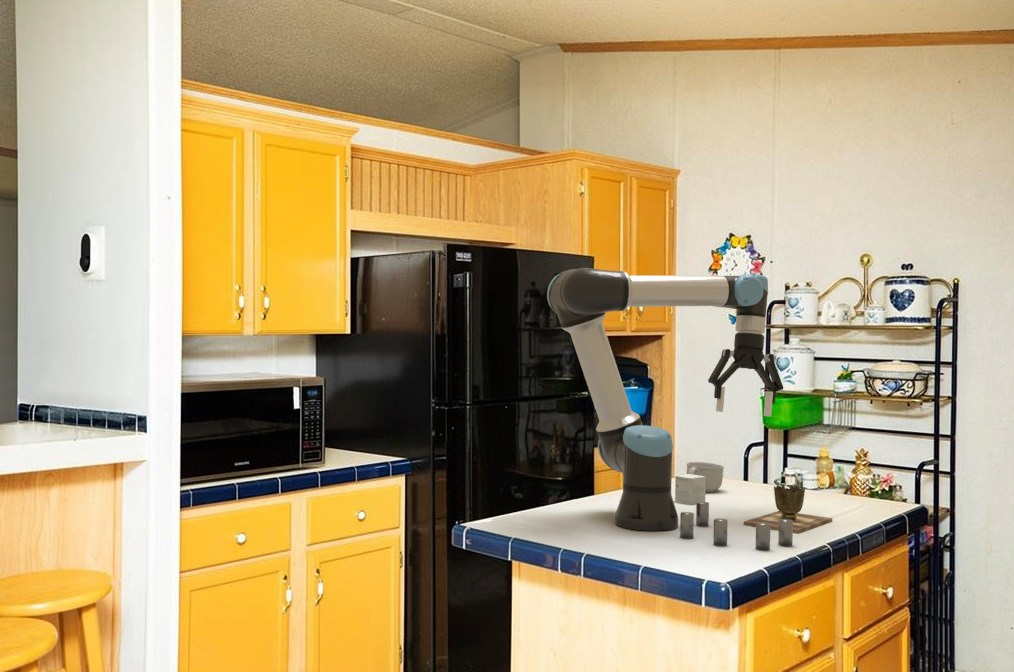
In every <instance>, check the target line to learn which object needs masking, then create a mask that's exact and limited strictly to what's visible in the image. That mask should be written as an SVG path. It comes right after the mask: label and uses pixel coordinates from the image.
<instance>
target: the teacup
mask: <svg viewBox="0 0 1014 672" xmlns="http://www.w3.org/2000/svg"><path fill="white" fill-rule="evenodd" d="M724 468H725V466H724V465H722V464H718V463H715V462H714V463H713V462H707V461H706V462H705V461H688V462H686V473H685V474H693V475H699V476H704V477H706V491H705V493H715V492H716V491H717V490H719V489H720V488H721V486H722V484H723V478H724Z"/></svg>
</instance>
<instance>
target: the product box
mask: <svg viewBox="0 0 1014 672" xmlns="http://www.w3.org/2000/svg"><path fill="white" fill-rule="evenodd" d="M705 491H706V477H704V476H699V475H693V474H686V473H685V474H680V475H679V474H678V475H675V484H674V501H675V502H674V503H680V504H686V505H691V506H693V505H694V506H695V505H696V502H706V492H705Z"/></svg>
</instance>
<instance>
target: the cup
mask: <svg viewBox="0 0 1014 672" xmlns="http://www.w3.org/2000/svg"><path fill="white" fill-rule="evenodd" d="M773 492H774V501H775V502H774V503H775V506H776V509H777V511H780V512H782V514H781V517H782V518H783V519H791V520H795V519H796V517H797V516H796V513H800V512H801V511H802V508H803V506H804V500H805V494H806V493H805V492H806V488H805V487H803V486H802V487H800V486H799V485H796V486H794V485H793V484H791V485H789V487H785V485H783V484H782V485H778V484H777V485H776V486H773Z"/></svg>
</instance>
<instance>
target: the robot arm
mask: <svg viewBox="0 0 1014 672" xmlns="http://www.w3.org/2000/svg"><path fill="white" fill-rule="evenodd" d="M553 277H554V278H552V280H551V281H550V283H549V284H548V288H547V292H546V299H547V302H548V305H549V307H550V308H551V310H552V311H553V312H554V313H555V314H556V315H557V317H558V320H559V324H560V326H561V328H562V330H564V331H565V332H567V333H569V334H570V336H571V339H572V343H573V346H574V349H575V352H576V355H577V358H578V361H579V364H580V367H581V369H582V372H583V376H584V379H585V381H586V385H587V387H588V391H589V394H590V397H591V399H592V400H591V401H592V402H593V406H594V408H595V411H596V414H597V418H598V420H599V422H598V424H597V425H596V428H595V430H596V433H597V436H598V442H597V450H598V455H599V457H600V459H601V460H602V462H603V463H604V464H606V465H607V466H608V467H609V468H610V469H611V470H613V471H616V472H617V473H622V493H621V498H620V500H619V502H618V505H617V508H616V512H615V515H614V516H615V517H614V523H615V525H616V526H618V527H620V528H624V529H628V530H633V531H634V530H635V531H645V532H653V531H654V532H655V531H656V532H658V531H659V532H661V531H662V532H663V531H669V530H674V529H676V528H678V527H679V515H678V511H677V509H676V506H675V502H674V501H675V500H674V498H673V495H672V480H673V479H672V477H673V476H672V474H673V473H672V472H673V448H674V447H673V446H674V445H673V437H672V434H671V433H670V431H668V430H666V429H665V428H662V427H656V426H654V425H643V423H642V419H641V416H640V414H638V413H636V412H634V411H633V410H632V408H631V405H630V402H629V399H628V396H627V393H626V392H627V391H626V389H625V387H624V384H623V382H622V378H621V375H620V372H619V369H618V365H617V363H616V359H615V356H614V353H613V350H612V348H611V345H610V341H609V337H608V336H607V335H608V334H607V333H606V329H605V327H604V323H603V322H604V320H605V318H606V315H607V314H606V313H611V312H625V311H626V309H628V308H630V307H631V308H632V307H633V308H634V307H635V308H636V307H637V308H640V307H641V308H642V307H651V308H653V307H716V308H723V309H724V308H726V309H731V310H732V309H733V310H736V316H735V317H736V319H735V320H736V321H735V331H736V332H737V333H735V334H734V343H733V344H734V346H733V347H734V349H733V350H730V348H725V349H722V352H721V354H720V355H721V356H720V358H719V360H718V362H717V363H716V365H715V368H713V371H712V373H711V374H710V376H709V378H708V379H707V382H708V383H709V384H712V385H713V387H714V394H713V397H714V399H716V405H715V406H716V407H715V412H719V413H724V407H725V406H724V404H725V393H726V386H723V385H724V384H725V383H726V382H727V381H728V380H729V378H731V377H732V375H733V374H734V373H735V372H736V371H737V370H738V369H748V370H754V371H755V372H756V373H757V375H758V376H759V378H760V379H761V381H762V383H763V384H764V386H765V388H767V390H768V391H765V394H764V408H763V416H764V417H772V413H773V412H772V411H773V405H775V403H776V394H777V392H779V391H783V390H784V384H783V383H782V379H781V377H780V374H779V371H778V368H777V366H776V363H775V355H774V354H773V353H767V354H765V353H764V352H763V350H764V347H765V346H764V345H765V336H764V335H763V334H764V333H765V331H766V321H767V320H766V319H767V318H766V317H767V307H768V306H767V305H768V295H769V279H768V278H767V276H765V275H764V274H763V275H762V274H755V273H743V274H741V275H664V274H663V275H650V274H649V275H639V274H638V275H637V274H636V275H632V274H628V273H627V272H626V271H624V270H621V271H620V270H608V269H599V268H592V267H591V268H590V267H580V268H575V269H572V268H571V269H568V270H563V271H562V272H560V273H559V274H557V275H555V276H553ZM732 357H733V359H734V361H732V362H731V363H730V365H729V367H728V368H727V369H726V370H725V371H724V372H723V370H724V369H725V368H726V365H727V363H728V362H729V359H731V358H732ZM762 361H764V362H765V364H766V365H765V366H766V368H767V370H768V372H767V371H766V370H765V366H764V365H763V364H762ZM722 372H723V373H722ZM768 373H769V375H768Z"/></svg>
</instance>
